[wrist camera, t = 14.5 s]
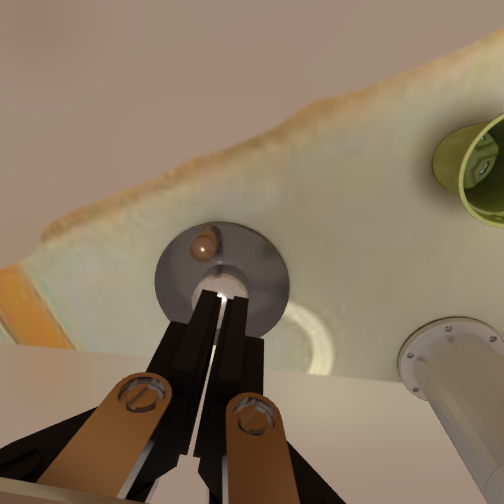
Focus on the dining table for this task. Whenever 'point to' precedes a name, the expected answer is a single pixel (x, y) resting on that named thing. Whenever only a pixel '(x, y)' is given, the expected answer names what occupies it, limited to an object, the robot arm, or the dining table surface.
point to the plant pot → (475, 169)
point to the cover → (222, 285)
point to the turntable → (231, 253)
